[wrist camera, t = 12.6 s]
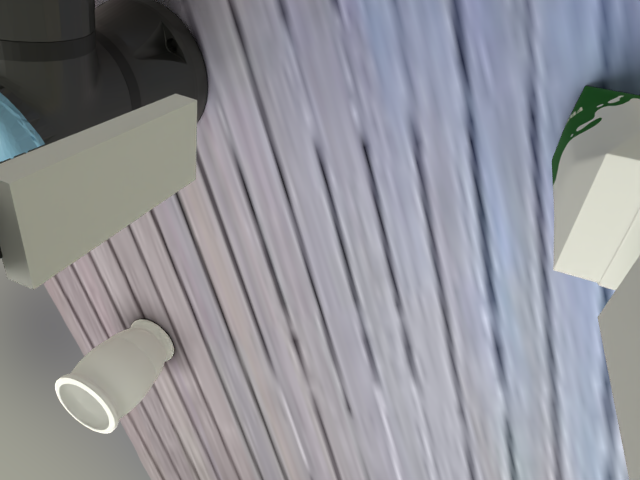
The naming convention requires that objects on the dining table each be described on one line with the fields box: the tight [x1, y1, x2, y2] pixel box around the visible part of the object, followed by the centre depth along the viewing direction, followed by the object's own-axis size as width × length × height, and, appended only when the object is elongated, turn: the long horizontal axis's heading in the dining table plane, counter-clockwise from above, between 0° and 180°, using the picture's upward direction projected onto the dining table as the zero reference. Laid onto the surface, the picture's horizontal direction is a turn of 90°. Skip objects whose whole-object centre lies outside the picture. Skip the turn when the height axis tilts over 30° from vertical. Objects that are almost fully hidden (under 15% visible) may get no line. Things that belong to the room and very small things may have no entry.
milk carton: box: [552, 86, 640, 290], centre depth 32 cm, size 9×9×20 cm
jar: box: [55, 319, 174, 434], centre depth 73 cm, size 11×10×15 cm
